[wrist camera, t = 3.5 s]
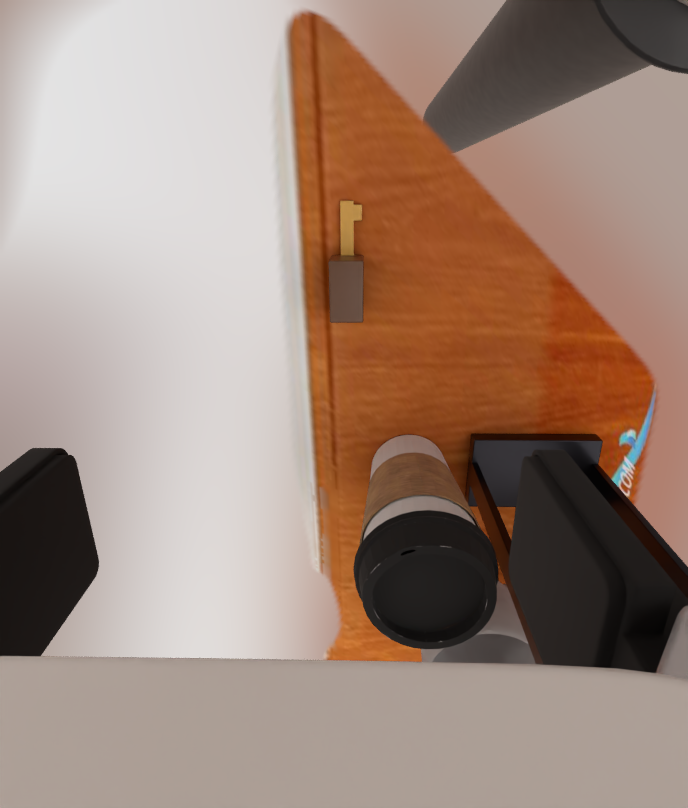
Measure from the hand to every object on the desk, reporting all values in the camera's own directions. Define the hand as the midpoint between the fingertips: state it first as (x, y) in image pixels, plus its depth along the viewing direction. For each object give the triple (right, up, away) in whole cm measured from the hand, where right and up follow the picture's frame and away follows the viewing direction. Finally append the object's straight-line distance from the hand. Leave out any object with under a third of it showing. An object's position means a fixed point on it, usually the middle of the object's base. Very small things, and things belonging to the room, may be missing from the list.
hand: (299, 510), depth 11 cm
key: (+1, +12, +25) cm, 28 cm away
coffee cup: (+6, -3, +31) cm, 32 cm away
